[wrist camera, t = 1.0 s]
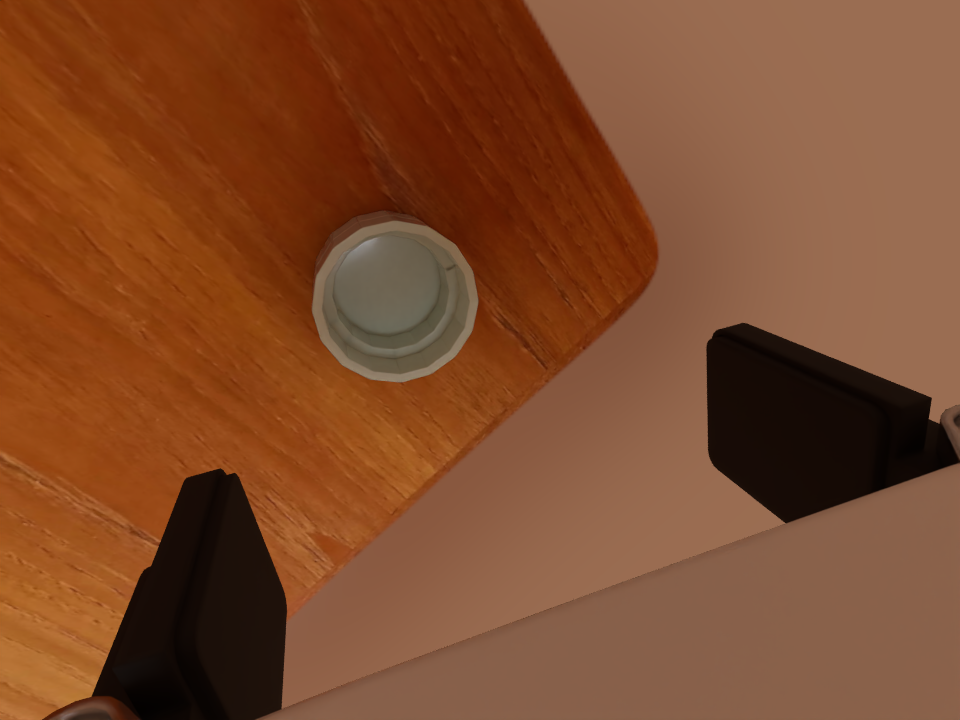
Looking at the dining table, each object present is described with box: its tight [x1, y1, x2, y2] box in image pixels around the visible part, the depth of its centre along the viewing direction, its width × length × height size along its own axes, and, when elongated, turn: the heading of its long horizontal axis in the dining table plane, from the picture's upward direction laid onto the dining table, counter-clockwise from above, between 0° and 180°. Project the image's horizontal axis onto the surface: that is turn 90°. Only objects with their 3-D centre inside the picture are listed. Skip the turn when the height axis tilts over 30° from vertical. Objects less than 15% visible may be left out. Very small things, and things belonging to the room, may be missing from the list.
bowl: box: [312, 210, 478, 382], centre depth 26 cm, size 7×7×4 cm
